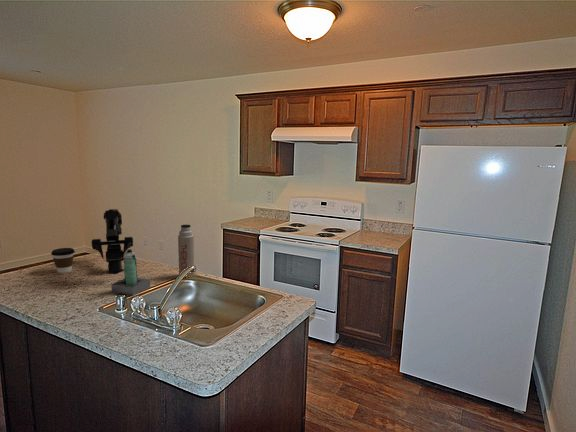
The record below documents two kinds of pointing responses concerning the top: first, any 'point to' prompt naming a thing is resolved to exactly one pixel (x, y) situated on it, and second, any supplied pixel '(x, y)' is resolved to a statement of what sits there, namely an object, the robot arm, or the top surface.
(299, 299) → the top surface
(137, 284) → the collar
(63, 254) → the coffee cup
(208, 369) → the top surface
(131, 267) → the spray can
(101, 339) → the top surface
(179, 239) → the thermos bottle
